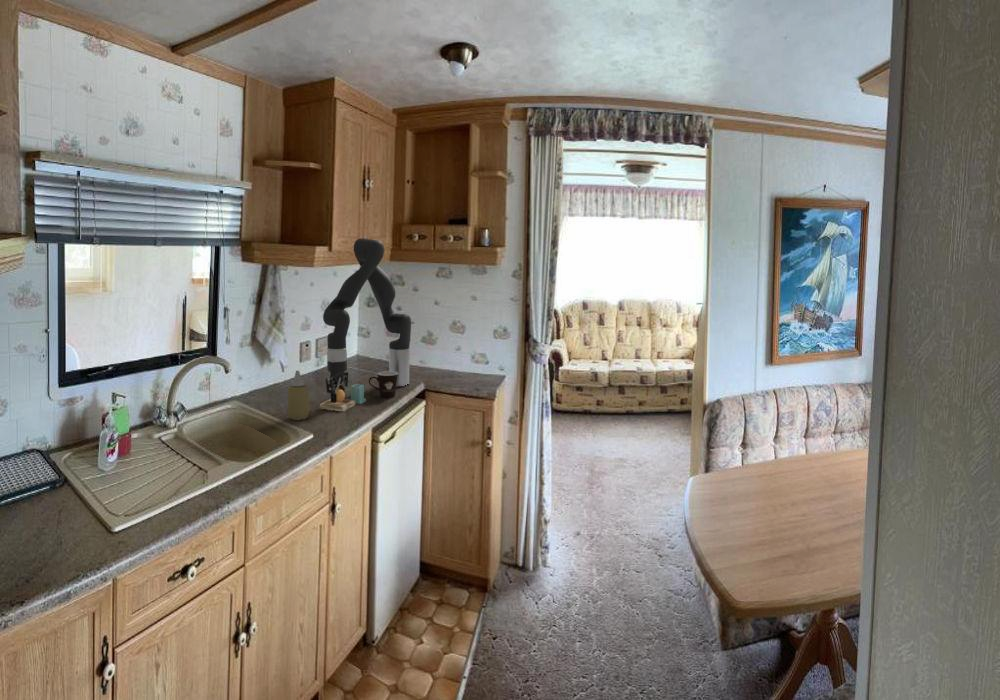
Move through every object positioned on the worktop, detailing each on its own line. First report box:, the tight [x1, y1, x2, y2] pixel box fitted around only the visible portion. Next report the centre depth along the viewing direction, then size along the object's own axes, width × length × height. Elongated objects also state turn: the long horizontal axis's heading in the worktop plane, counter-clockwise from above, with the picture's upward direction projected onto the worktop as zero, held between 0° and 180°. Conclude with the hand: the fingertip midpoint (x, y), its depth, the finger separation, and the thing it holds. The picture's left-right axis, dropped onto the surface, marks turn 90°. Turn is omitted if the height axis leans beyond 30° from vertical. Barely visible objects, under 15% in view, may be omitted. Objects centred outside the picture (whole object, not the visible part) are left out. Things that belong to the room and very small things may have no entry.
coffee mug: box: [368, 370, 398, 399], centre depth 245 cm, size 12×9×10 cm
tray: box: [319, 398, 356, 412], centre depth 227 cm, size 10×10×2 cm
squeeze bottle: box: [286, 370, 311, 421], centre depth 210 cm, size 8×8×18 cm
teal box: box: [350, 383, 367, 405], centre depth 234 cm, size 5×5×7 cm
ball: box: [336, 388, 346, 402], centre depth 226 cm, size 6×6×6 cm
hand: (337, 400), depth 227 cm, fingers open, 5 cm apart
